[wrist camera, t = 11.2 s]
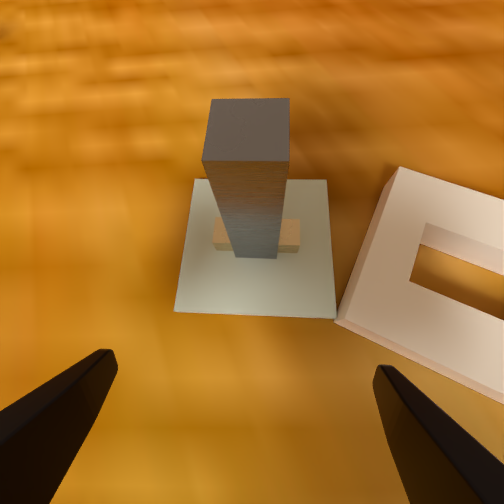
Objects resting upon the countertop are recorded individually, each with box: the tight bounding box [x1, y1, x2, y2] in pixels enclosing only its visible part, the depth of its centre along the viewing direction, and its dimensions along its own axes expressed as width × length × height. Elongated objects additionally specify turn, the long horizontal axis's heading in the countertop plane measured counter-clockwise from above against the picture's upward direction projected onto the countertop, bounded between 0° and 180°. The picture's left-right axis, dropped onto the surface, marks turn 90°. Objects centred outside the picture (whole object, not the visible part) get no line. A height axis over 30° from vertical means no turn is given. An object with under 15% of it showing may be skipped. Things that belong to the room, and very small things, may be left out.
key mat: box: [174, 179, 337, 319], centre depth 18 cm, size 11×11×1 cm
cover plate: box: [333, 166, 504, 404], centre depth 15 cm, size 12×13×2 cm
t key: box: [202, 98, 300, 259], centre depth 13 cm, size 3×6×10 cm, turn 87°
